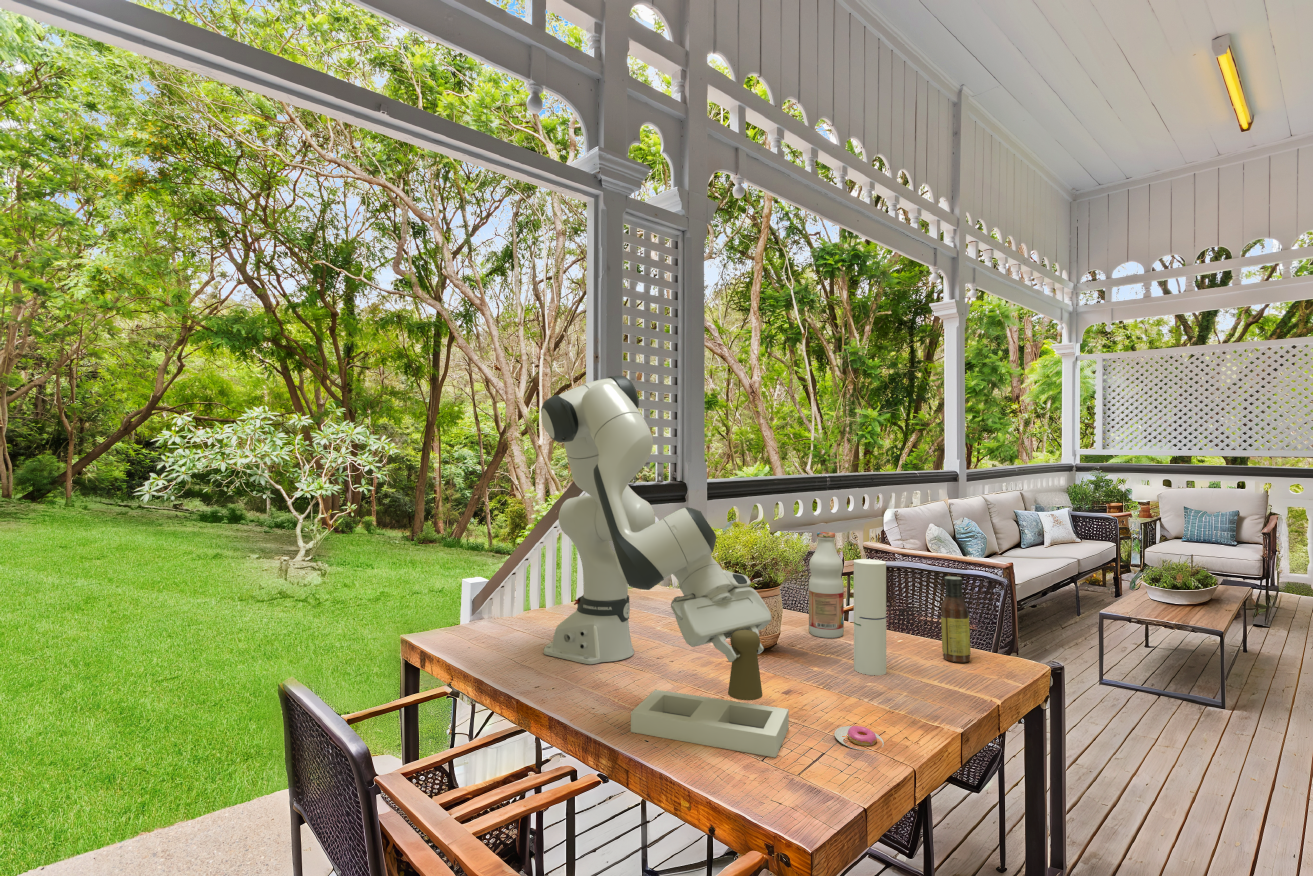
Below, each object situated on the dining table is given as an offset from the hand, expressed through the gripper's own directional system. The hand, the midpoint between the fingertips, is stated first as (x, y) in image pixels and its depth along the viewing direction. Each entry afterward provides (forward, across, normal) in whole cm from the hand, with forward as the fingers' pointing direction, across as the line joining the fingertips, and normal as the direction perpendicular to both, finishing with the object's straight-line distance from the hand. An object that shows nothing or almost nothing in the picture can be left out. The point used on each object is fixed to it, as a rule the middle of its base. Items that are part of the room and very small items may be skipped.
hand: (747, 656), depth 113 cm
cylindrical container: (+6, +49, +14) cm, 51 cm away
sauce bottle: (+12, +72, +7) cm, 73 cm away
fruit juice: (-11, +66, +31) cm, 74 cm away
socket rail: (+6, -3, +15) cm, 16 cm away
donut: (+19, +14, +2) cm, 24 cm away
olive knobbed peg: (+5, 0, +5) cm, 7 cm away
